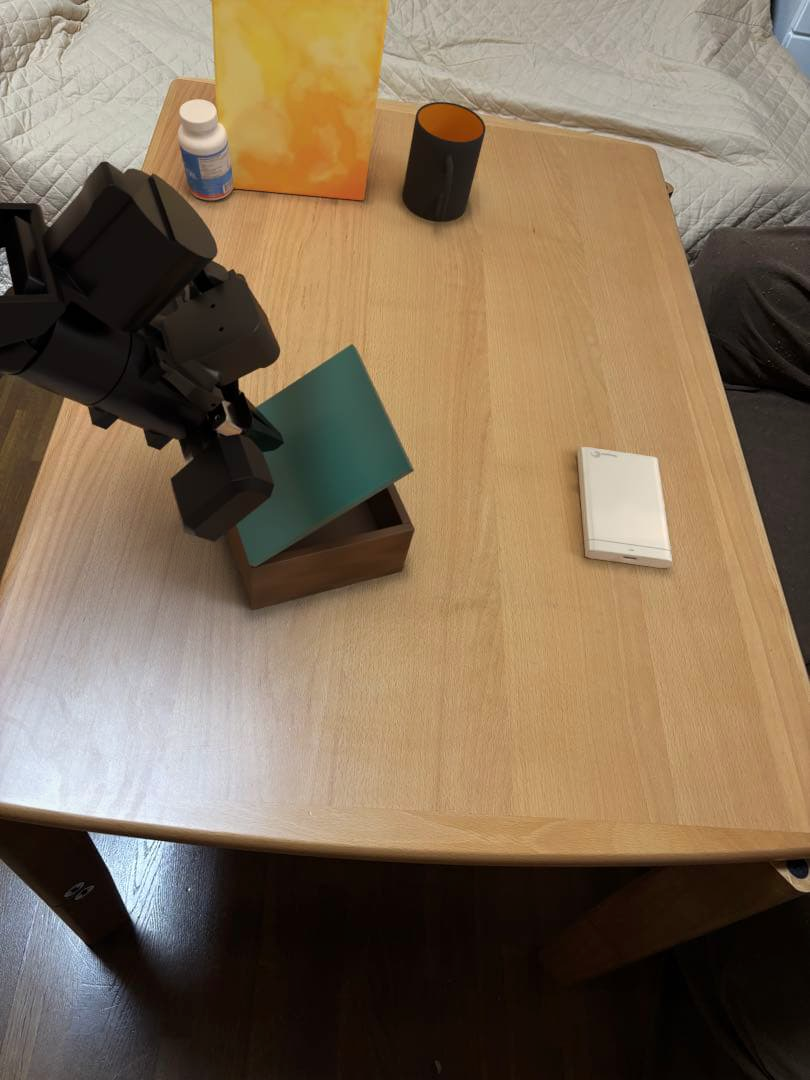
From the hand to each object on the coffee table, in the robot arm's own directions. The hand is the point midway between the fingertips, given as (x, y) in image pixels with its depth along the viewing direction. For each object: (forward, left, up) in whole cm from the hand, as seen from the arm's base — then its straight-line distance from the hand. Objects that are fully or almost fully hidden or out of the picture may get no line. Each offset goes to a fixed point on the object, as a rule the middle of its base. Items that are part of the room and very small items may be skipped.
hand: (278, 442), depth 59 cm
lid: (+2, +1, -2) cm, 3 cm away
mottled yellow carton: (+1, +56, -13) cm, 58 cm away
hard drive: (+33, +5, -13) cm, 36 cm away
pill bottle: (-9, +49, -13) cm, 52 cm away
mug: (+18, +50, -13) cm, 55 cm away
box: (+3, +1, -13) cm, 14 cm away
